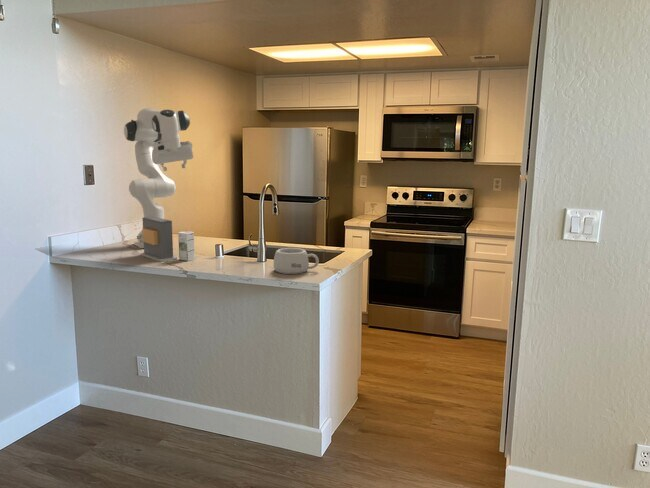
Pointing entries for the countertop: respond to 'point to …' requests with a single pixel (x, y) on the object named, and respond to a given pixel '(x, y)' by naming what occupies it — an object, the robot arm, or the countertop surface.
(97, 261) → the countertop surface
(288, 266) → the mug
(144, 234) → the switch button
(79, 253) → the countertop surface
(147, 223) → the switch box
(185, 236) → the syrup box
